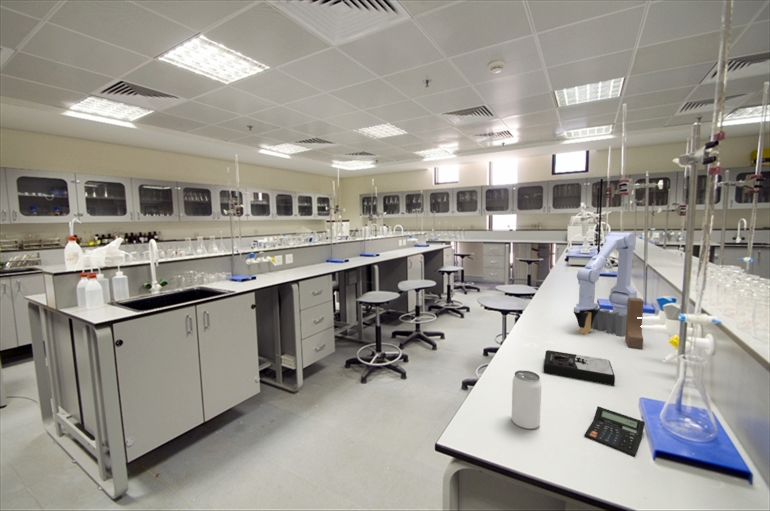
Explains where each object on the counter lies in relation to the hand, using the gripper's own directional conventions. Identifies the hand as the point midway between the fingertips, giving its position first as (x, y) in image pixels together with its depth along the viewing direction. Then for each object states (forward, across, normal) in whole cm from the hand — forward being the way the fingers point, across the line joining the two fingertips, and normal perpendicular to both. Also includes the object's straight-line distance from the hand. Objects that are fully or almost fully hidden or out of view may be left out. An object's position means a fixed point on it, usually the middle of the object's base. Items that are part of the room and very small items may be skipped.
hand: (585, 326), depth 144 cm
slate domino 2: (+3, -10, +2) cm, 11 cm away
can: (+3, +77, +32) cm, 83 cm away
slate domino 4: (+3, -10, +9) cm, 14 cm away
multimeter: (+4, +39, +21) cm, 45 cm away
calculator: (+3, +63, +45) cm, 78 cm away
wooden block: (+3, -2, +18) cm, 18 cm away
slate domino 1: (+3, -10, -2) cm, 11 cm away
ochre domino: (+3, 0, 0) cm, 3 cm away
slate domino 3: (+3, -10, +6) cm, 12 cm away
